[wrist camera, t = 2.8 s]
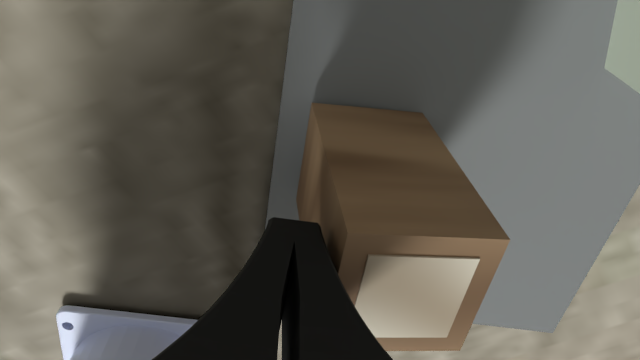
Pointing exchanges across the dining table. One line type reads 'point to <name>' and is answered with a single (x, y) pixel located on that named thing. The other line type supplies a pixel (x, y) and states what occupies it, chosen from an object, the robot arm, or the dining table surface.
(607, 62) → the sage block
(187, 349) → the robot arm
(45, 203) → the dining table surface
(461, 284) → the walnut block
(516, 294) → the mat
